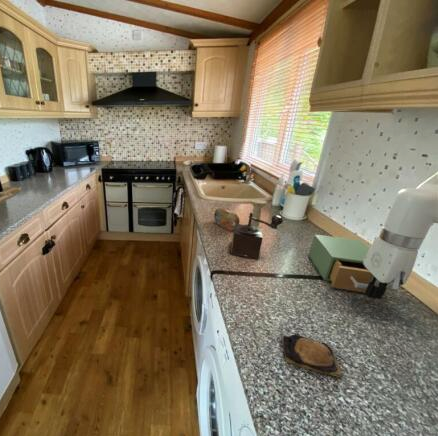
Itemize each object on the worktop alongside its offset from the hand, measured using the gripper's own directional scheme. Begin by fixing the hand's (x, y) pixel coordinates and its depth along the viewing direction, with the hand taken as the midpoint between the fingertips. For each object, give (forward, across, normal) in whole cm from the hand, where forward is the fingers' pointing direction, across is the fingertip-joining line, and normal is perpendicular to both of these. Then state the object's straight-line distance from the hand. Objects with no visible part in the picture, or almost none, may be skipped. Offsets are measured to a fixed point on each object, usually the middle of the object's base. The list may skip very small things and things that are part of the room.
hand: (372, 296), depth 68 cm
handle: (+4, -45, -26) cm, 52 cm away
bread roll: (+4, +22, -21) cm, 30 cm away
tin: (+4, -46, -38) cm, 60 cm away
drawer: (+3, -12, 0) cm, 12 cm away
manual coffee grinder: (+4, -24, -29) cm, 37 cm away
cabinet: (+4, -19, 0) cm, 20 cm away
